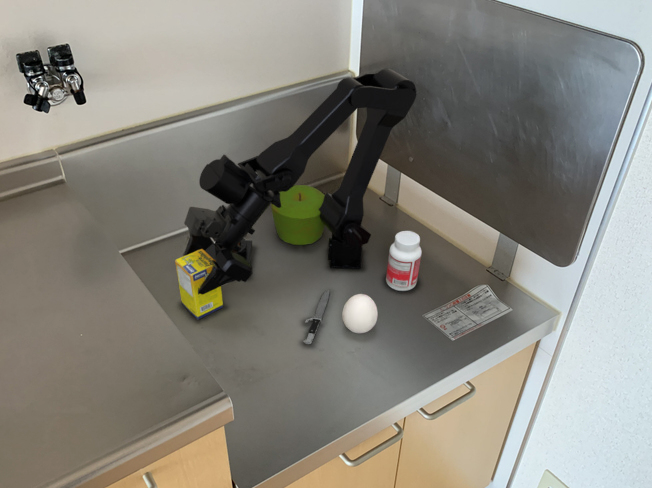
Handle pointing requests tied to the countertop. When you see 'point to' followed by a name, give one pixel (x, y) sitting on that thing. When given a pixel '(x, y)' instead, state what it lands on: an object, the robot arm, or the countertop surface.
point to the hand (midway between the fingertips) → (191, 279)
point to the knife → (317, 317)
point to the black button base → (244, 252)
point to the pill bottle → (404, 261)
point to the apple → (299, 215)
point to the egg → (360, 313)
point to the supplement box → (197, 284)
